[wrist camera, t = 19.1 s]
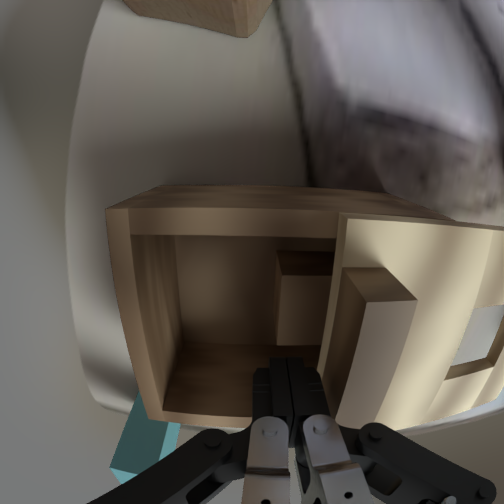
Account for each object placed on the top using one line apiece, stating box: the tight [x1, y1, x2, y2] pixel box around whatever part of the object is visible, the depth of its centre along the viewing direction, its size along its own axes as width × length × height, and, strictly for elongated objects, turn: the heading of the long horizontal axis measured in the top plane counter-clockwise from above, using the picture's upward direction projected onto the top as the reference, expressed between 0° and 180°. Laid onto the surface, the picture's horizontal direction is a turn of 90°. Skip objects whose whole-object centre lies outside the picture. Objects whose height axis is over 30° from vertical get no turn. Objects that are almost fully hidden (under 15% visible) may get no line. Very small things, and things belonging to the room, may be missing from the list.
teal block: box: [109, 391, 181, 484], centre depth 23 cm, size 4×4×11 cm
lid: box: [317, 212, 504, 431], centre depth 12 cm, size 17×14×4 cm
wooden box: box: [105, 185, 455, 428], centre depth 19 cm, size 17×14×9 cm
